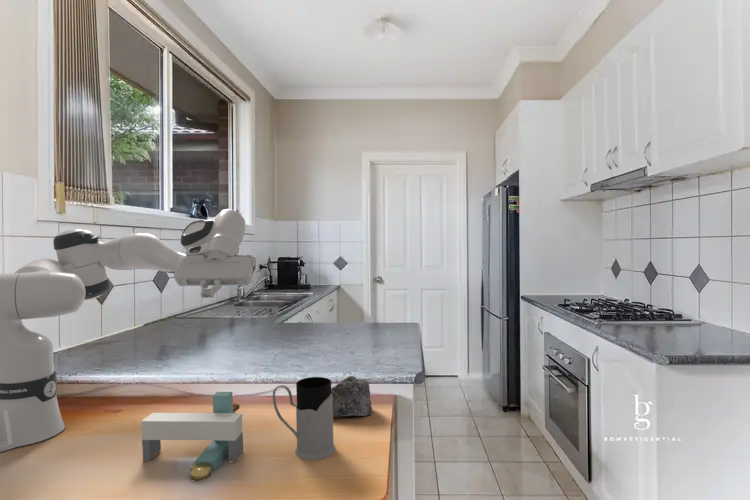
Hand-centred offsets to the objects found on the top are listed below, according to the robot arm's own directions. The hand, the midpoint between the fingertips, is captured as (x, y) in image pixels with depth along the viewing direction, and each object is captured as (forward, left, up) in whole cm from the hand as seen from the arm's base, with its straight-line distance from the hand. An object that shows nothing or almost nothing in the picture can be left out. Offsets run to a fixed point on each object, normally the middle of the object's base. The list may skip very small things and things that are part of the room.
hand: (207, 296), depth 121 cm
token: (+10, -29, -32) cm, 44 cm away
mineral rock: (+35, +2, -32) cm, 47 cm away
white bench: (+5, -21, -31) cm, 38 cm away
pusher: (+10, -21, -31) cm, 39 cm away
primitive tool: (+3, -1, -32) cm, 32 cm away
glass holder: (+28, -17, -32) cm, 46 cm away
